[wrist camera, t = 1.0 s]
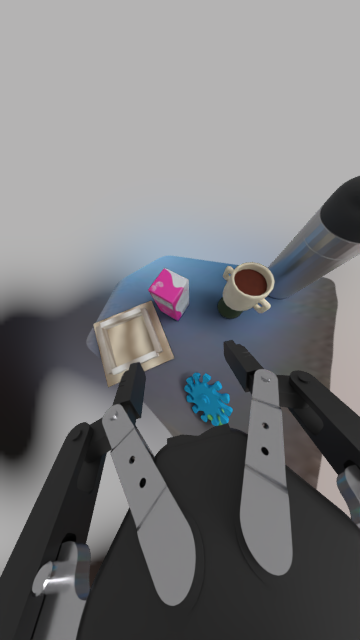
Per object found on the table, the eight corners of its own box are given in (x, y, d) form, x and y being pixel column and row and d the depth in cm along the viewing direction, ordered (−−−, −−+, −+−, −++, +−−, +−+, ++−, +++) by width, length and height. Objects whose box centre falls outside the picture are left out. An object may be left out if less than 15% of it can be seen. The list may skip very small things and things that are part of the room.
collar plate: (152, 302, 36) (148, 296, 33) (174, 358, 32) (172, 357, 28) (95, 324, 35) (86, 321, 32) (110, 386, 31) (101, 389, 27)
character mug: (254, 315, 34) (294, 290, 21) (233, 332, 33) (261, 316, 20) (225, 286, 36) (245, 248, 24) (205, 300, 35) (215, 268, 23)
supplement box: (171, 294, 37) (164, 266, 26) (189, 304, 35) (190, 279, 24) (159, 310, 35) (147, 289, 24) (178, 322, 34) (173, 304, 23)
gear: (176, 377, 29) (214, 372, 22) (191, 366, 33) (227, 359, 27) (196, 430, 27) (243, 441, 21) (209, 411, 32) (252, 415, 25)
